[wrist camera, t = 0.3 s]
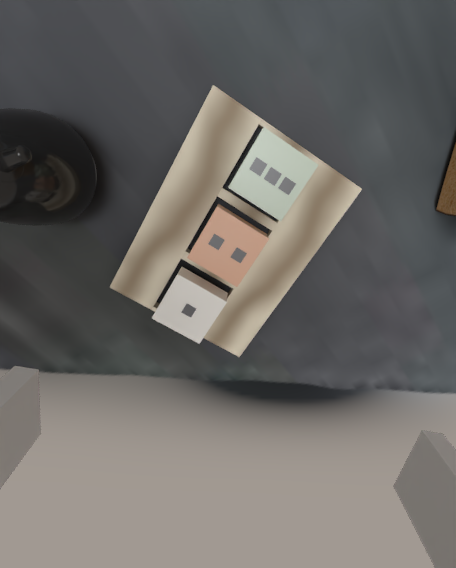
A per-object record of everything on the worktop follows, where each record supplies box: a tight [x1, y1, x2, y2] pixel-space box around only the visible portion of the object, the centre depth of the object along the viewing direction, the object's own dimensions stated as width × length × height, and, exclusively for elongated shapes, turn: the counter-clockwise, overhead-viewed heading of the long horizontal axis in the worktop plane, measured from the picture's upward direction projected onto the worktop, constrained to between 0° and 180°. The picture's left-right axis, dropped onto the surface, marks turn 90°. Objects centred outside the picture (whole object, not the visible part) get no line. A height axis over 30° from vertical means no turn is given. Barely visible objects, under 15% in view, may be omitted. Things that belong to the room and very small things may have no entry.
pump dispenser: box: [0, 108, 97, 226], centre depth 26 cm, size 10×10×15 cm
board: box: [110, 85, 362, 357], centre depth 35 cm, size 18×24×2 cm
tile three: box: [228, 127, 318, 221], centre depth 30 cm, size 6×6×3 cm
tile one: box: [152, 267, 228, 344], centre depth 35 cm, size 6×6×3 cm
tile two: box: [187, 204, 269, 287], centre depth 32 cm, size 6×6×3 cm
